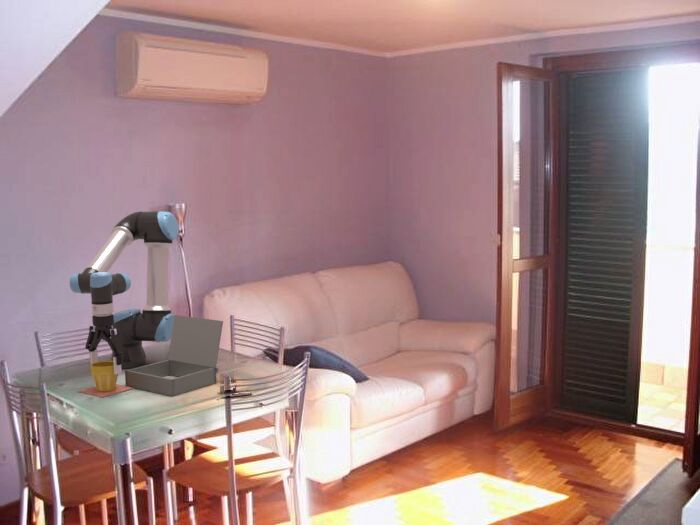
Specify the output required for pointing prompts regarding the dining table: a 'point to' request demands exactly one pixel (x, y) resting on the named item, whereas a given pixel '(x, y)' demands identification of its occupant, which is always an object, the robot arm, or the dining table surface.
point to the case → (182, 359)
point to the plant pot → (104, 375)
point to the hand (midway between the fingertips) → (106, 370)
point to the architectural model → (231, 383)
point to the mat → (117, 390)
